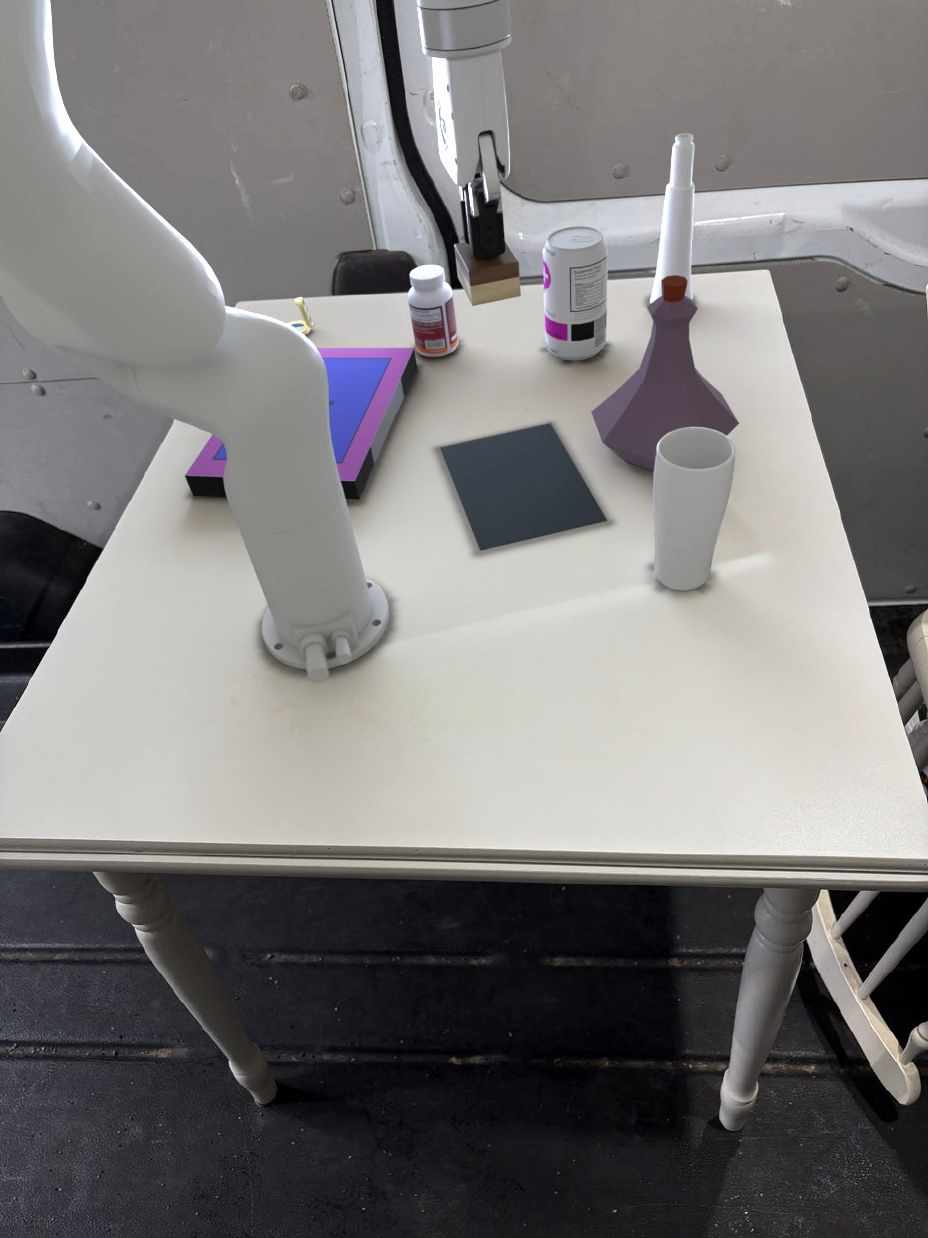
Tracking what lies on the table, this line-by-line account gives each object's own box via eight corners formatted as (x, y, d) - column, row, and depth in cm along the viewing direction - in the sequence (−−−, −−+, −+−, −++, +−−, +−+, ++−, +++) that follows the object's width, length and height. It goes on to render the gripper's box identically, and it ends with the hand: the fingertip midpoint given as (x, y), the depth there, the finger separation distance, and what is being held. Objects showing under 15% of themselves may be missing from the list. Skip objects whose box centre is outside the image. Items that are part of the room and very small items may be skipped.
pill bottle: (441, 332, 122) (431, 257, 115) (467, 346, 119) (459, 269, 111) (407, 349, 120) (395, 273, 112) (433, 363, 116) (422, 286, 109)
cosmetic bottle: (701, 302, 121) (719, 134, 105) (668, 315, 119) (681, 146, 103) (673, 288, 125) (687, 124, 109) (641, 301, 123) (650, 136, 107)
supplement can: (540, 361, 114) (535, 250, 103) (553, 331, 119) (550, 223, 109) (599, 364, 112) (601, 251, 101) (610, 334, 117) (613, 224, 106)
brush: (521, 296, 83) (515, 196, 76) (472, 306, 83) (462, 206, 76) (503, 268, 88) (496, 171, 81) (457, 277, 88) (446, 181, 81)
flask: (576, 484, 94) (575, 316, 80) (603, 405, 105) (607, 244, 90) (727, 500, 90) (755, 324, 75) (739, 415, 100) (766, 247, 86)
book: (414, 347, 114) (354, 480, 94) (417, 367, 116) (359, 502, 96) (270, 347, 118) (184, 475, 98) (276, 367, 120) (193, 495, 100)
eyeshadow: (280, 327, 129) (272, 296, 125) (312, 322, 129) (305, 291, 126) (281, 340, 126) (273, 309, 122) (314, 334, 126) (306, 303, 122)
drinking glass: (664, 606, 80) (676, 478, 69) (635, 562, 84) (642, 436, 74) (729, 588, 80) (752, 459, 70) (697, 545, 85) (713, 418, 74)
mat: (607, 523, 89) (607, 520, 89) (480, 552, 88) (480, 550, 87) (550, 425, 103) (550, 422, 103) (440, 449, 102) (439, 447, 101)
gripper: (405, 14, 75) (432, 224, 88) (440, 55, 63) (465, 290, 77) (486, 0, 75) (501, 211, 89) (535, 38, 64) (544, 274, 77)
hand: (484, 246), depth 82 cm, fingers closed on brush, 3 cm apart
